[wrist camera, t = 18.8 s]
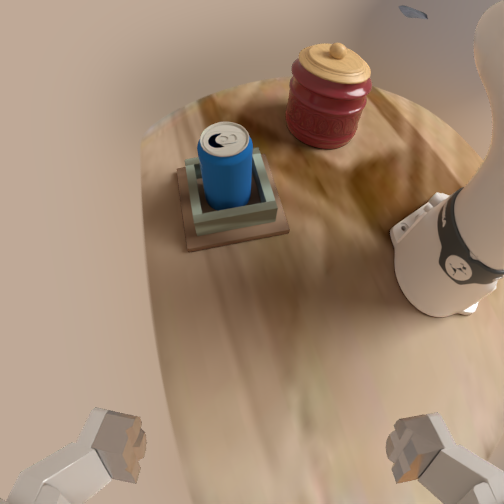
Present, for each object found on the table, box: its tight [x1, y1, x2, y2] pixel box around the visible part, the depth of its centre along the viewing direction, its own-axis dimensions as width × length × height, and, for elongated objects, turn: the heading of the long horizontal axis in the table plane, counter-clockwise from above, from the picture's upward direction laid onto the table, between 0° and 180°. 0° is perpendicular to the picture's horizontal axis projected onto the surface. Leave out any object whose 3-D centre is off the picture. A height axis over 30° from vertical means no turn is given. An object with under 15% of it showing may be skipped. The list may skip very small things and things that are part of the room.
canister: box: [285, 43, 372, 149], centre depth 46 cm, size 13×13×18 cm
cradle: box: [177, 148, 290, 252], centre depth 45 cm, size 14×14×4 cm
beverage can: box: [197, 122, 253, 211], centre depth 40 cm, size 6×6×12 cm
